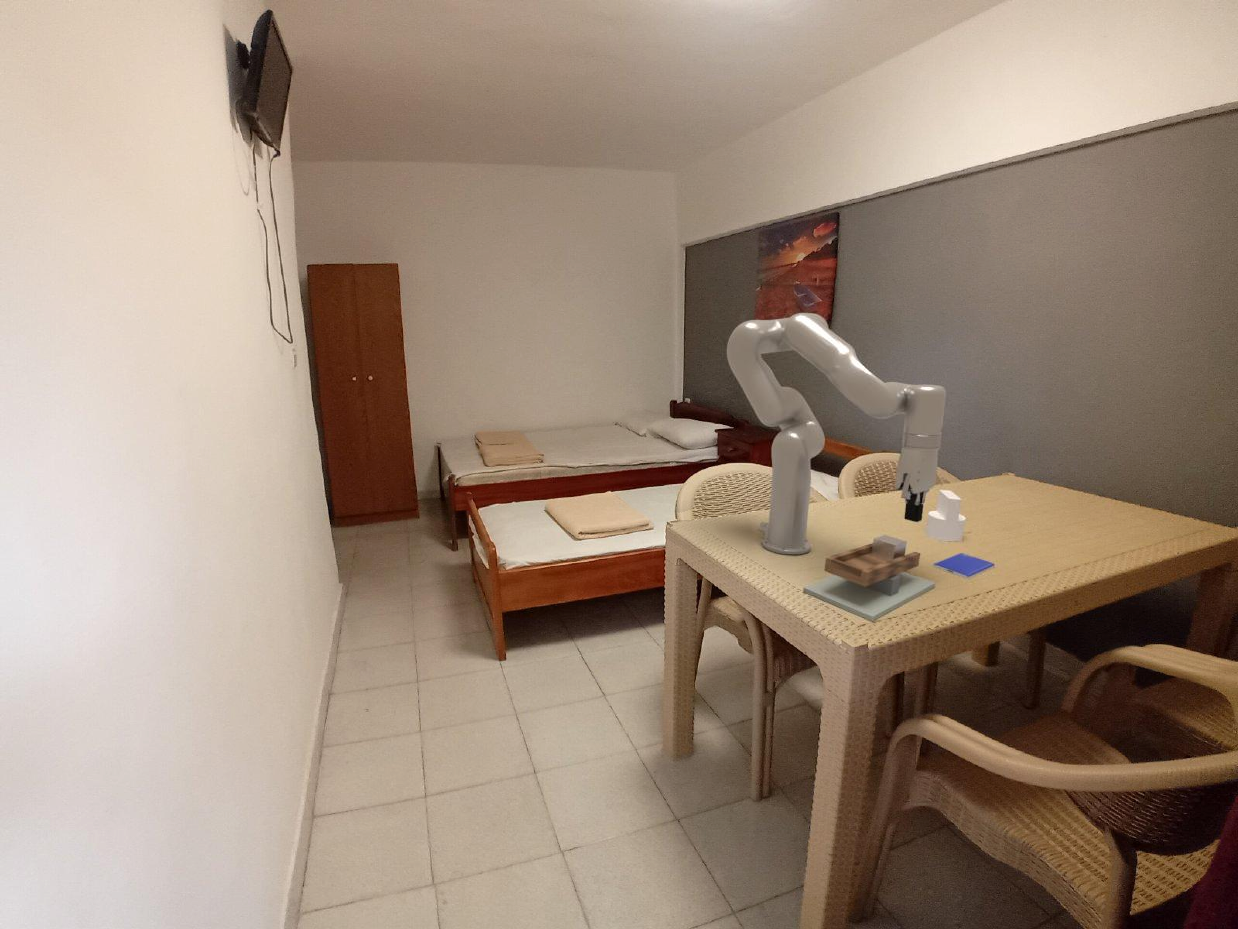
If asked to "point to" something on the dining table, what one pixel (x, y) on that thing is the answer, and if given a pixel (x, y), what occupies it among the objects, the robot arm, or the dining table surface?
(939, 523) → the base with upright slab
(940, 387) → the robot arm
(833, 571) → the beam
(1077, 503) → the dining table surface
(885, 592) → the beam stand
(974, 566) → the hard drive
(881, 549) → the steel block
